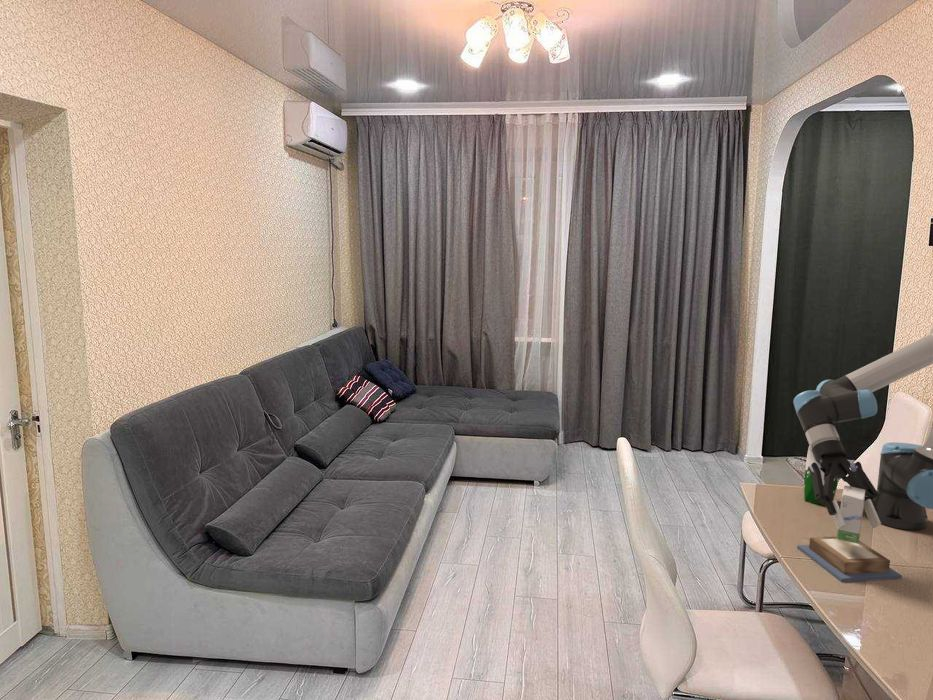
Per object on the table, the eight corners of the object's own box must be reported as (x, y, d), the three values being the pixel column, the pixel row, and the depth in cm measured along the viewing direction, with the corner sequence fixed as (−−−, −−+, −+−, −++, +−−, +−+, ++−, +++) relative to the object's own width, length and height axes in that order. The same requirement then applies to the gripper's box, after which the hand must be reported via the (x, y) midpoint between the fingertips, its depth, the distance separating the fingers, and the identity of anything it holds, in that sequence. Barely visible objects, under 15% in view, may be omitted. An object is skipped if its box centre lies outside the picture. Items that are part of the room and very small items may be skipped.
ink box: (858, 544, 170) (864, 499, 168) (836, 539, 173) (841, 494, 171) (860, 532, 177) (866, 488, 175) (839, 527, 180) (844, 484, 178)
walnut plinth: (850, 546, 184) (852, 535, 183) (888, 571, 170) (890, 559, 169) (808, 548, 182) (810, 537, 182) (843, 574, 168) (845, 561, 168)
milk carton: (832, 508, 212) (839, 445, 208) (800, 501, 217) (806, 439, 214) (837, 499, 218) (844, 439, 215) (806, 493, 224) (812, 433, 220)
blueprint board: (852, 545, 186) (852, 542, 186) (901, 578, 168) (902, 575, 168) (797, 548, 184) (797, 545, 184) (841, 581, 166) (841, 578, 166)
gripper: (854, 450, 188) (889, 530, 176) (781, 452, 186) (811, 533, 173) (870, 437, 182) (908, 519, 169) (795, 438, 180) (827, 522, 167)
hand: (859, 526), depth 171 cm, fingers closed on ink box, 9 cm apart
